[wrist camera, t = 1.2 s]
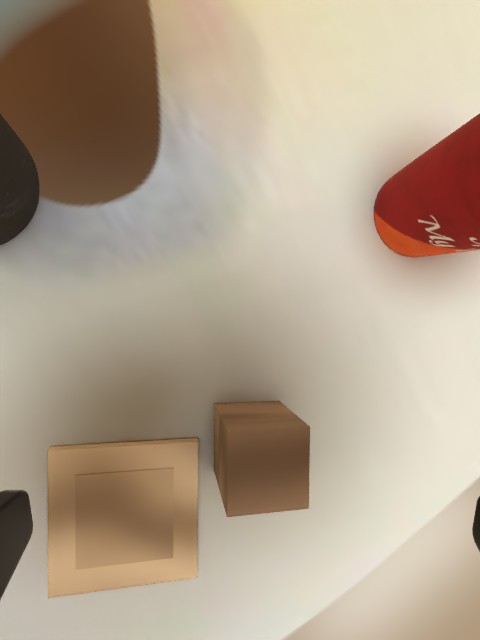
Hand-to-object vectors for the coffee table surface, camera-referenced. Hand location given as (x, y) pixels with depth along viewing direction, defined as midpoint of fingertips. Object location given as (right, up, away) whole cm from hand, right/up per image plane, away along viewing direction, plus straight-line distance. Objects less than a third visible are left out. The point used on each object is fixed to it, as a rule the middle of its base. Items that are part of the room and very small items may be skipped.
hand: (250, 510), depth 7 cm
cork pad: (-7, -7, +13) cm, 17 cm away
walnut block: (0, -3, +15) cm, 15 cm away
